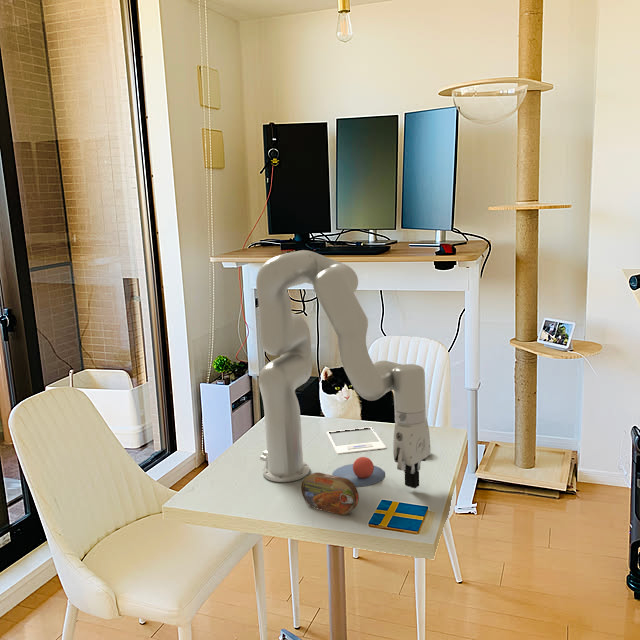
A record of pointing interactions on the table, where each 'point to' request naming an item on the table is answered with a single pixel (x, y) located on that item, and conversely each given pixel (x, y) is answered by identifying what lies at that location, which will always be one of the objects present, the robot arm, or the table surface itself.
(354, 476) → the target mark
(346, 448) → the photo frame
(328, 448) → the table surface
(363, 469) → the ball
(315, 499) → the tin
